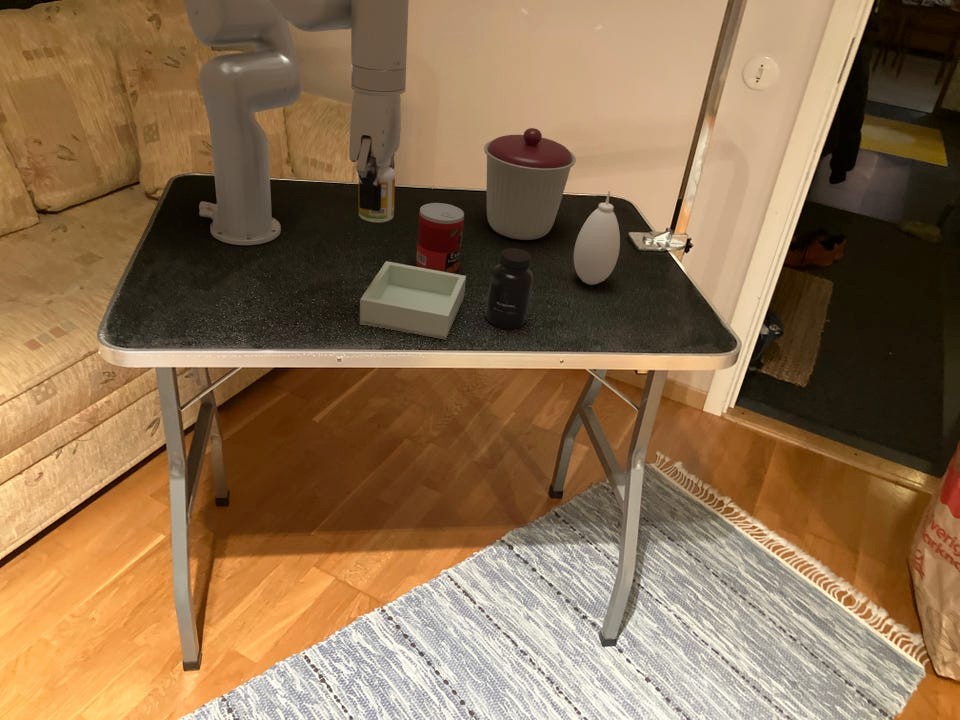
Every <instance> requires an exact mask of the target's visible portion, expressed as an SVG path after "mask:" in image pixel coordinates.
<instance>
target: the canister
mask: <svg viewBox="0 0 960 720" xmlns="http://www.w3.org/2000/svg"><path fill="white" fill-rule="evenodd" d="M483 150H484V153H485V155H486V217H487V222H488V223H489V226H490V227H491V228H492V230H494V232H496V233H497V234H499V235H501V236H504V237H505V238H508V239H513V240H514V239H515V240H520V241H522V240H523V241H531V240H537V239H541V238H543V237H545V236H546V235H547V234H548V233H550V232H551V230H552V227H553V226H554V223H555V220H556V217H557V215H558V211H559V208H560V205H561V203H562V199H563V196H564V195H563V194H564V192H565V188H566V185H567V182H568V179H569V174H570V171H571V168H572V167H573V166H574V165H575V164H576V161H577V159H576V155H575V154H573V153H572V151H570V150H569V149H568V148H567V147H566V146H564V145H563V144H561V143H560V142H557V141H554V140H553V139H549V138H546V137H543V136H542V131H540V130H539V129H538V128H535V127H532V128H531V127H529V128H527V129H526V130H525V131H524V132H523V134H507V135H502V136H499V137H495V138H494V139H492V140H490V141H488V142H487V143H486V144H485V145H484V147H483Z"/></svg>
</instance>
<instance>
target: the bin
mask: <svg viewBox="0 0 960 720" xmlns="http://www.w3.org/2000/svg"><path fill="white" fill-rule="evenodd" d="M466 281H467V275H461V274H459V273H458V274H457V273H454V274H453V273H447V272H442V271H436V270H431V269H425V268H420V267H418V266H414V265H410V264H409V265H408V264H403V263H398V262H392V261H387V260H386V261H385V262H384V264H383V265H382V267H381V268H380V270H379V271H378V272H377V274H376V275H375V276H374V278H373V280H372V281H371V283H370V284H369V285H368V287H367V289H366V290H365V292H364V293H363V295H362V297H361V298H360V300H359V325H362V326H366V325H368V327H371V326H373V327H372V328H377V327H379V328H378V329H382V328H385V329H384V330H387V329H391V330H390V331H392V330H397V331H402V332H401V333H403V332H408V333H414V334H419V335H420V334H421V335H425V336H429V337H434V338H440V339H445V340H446V341H447V339H448V337H449V335H448V334H450V332H451V330H450V329H452V328H451V327H453V325H454V323H453V322H455V321H454V320H456V318H457V316H458V314H457V313H459V311H460V309H461V307H460V306H462V304H463V302H464V299H465V290H466ZM459 308H460V309H459ZM456 315H457V316H456ZM455 317H456V318H455ZM452 324H453V325H452ZM397 331H396V332H397ZM449 331H450V332H449ZM408 333H407V334H408ZM447 336H448V337H447ZM434 338H433V339H434ZM446 338H447V339H446Z"/></svg>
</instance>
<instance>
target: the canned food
mask: <svg viewBox="0 0 960 720" xmlns="http://www.w3.org/2000/svg"><path fill="white" fill-rule="evenodd" d="M464 220H465V212H464V210H462V209H461V208H460V207H457V206H455V205H453V204H448V203H441V202H431V203H426V204H423V205H421V206H420V208H419V214H418V227H417V228H418V229H417V241H416V256H415V257H416V260H415V262H416V267H420V268H425V269H431V270H436V271H442V272H447V273H453V274H456V272H457V271H458V269H459V268H460V267H459V266H460V261H461V260H460V259H461V249H462V240H463V232H464V224H465V223H464Z"/></svg>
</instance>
